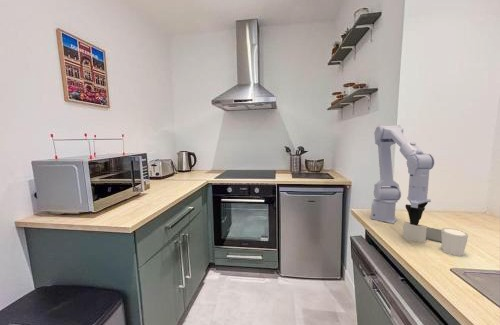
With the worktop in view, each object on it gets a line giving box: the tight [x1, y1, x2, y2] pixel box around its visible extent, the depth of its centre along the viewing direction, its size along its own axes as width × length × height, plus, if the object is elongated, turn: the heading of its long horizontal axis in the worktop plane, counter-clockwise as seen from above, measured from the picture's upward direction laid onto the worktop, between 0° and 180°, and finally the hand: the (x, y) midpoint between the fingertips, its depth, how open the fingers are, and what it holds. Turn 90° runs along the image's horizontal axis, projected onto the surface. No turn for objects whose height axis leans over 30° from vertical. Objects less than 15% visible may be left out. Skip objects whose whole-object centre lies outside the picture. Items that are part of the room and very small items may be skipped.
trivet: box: [426, 226, 442, 244], centre depth 89 cm, size 13×13×1 cm
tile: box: [402, 221, 428, 244], centre depth 86 cm, size 7×2×6 cm, turn 47°
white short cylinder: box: [440, 227, 469, 257], centre depth 77 cm, size 7×7×7 cm
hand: (415, 221), depth 85 cm, fingers open, 7 cm apart
